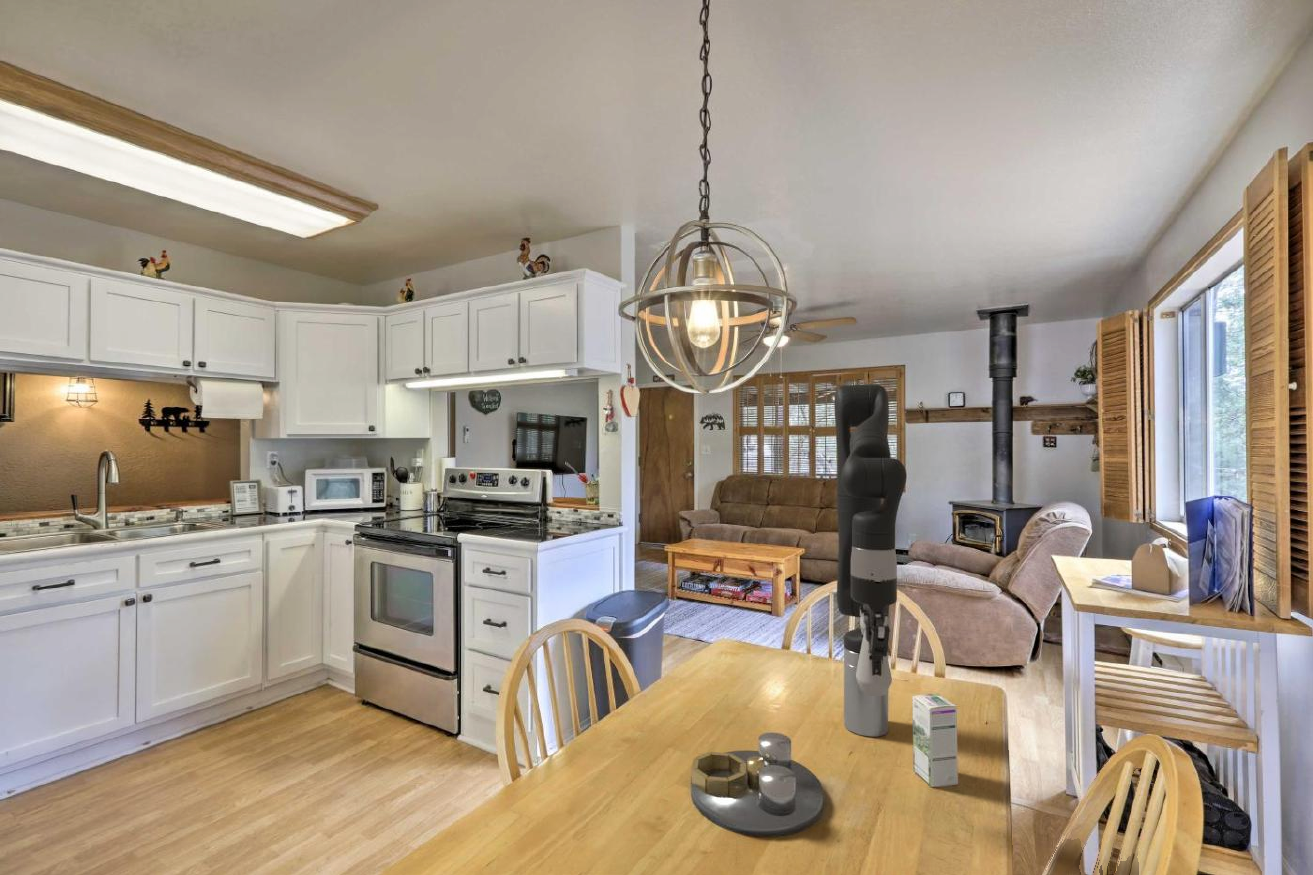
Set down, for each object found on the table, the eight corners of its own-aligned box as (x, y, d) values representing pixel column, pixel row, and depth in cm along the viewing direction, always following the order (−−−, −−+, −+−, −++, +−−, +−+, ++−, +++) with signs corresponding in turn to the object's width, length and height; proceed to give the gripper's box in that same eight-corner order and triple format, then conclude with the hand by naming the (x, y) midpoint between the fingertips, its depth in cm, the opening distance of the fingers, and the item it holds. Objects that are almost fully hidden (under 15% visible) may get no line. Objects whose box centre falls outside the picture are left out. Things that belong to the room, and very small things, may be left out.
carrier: (697, 756, 120) (697, 720, 120) (815, 766, 116) (816, 729, 116) (683, 828, 97) (683, 784, 97) (831, 844, 93) (831, 798, 94)
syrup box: (959, 785, 110) (959, 705, 110) (929, 788, 109) (929, 707, 109) (939, 768, 115) (939, 692, 116) (911, 771, 115) (911, 694, 115)
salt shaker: (883, 684, 107) (883, 611, 107) (897, 698, 101) (897, 620, 101) (850, 684, 107) (850, 611, 107) (863, 698, 101) (863, 621, 101)
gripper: (844, 564, 111) (845, 657, 111) (857, 581, 98) (858, 688, 97) (887, 565, 110) (887, 660, 110) (906, 583, 96) (906, 691, 96)
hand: (873, 672), depth 104 cm, fingers closed on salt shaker, 3 cm apart
